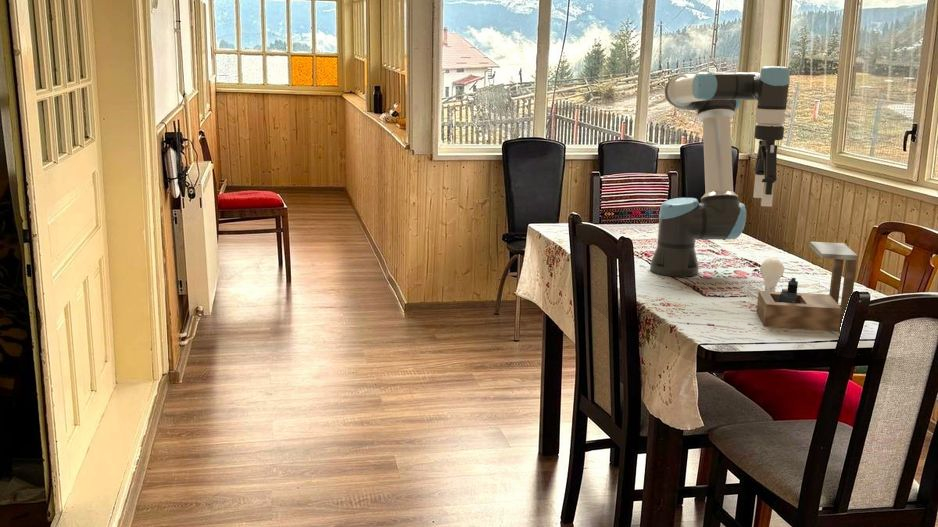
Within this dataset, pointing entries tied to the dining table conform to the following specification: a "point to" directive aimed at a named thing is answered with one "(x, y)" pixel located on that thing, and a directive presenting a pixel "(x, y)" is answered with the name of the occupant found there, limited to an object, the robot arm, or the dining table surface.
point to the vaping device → (789, 292)
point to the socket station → (813, 296)
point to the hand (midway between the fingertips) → (762, 202)
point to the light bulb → (771, 273)
